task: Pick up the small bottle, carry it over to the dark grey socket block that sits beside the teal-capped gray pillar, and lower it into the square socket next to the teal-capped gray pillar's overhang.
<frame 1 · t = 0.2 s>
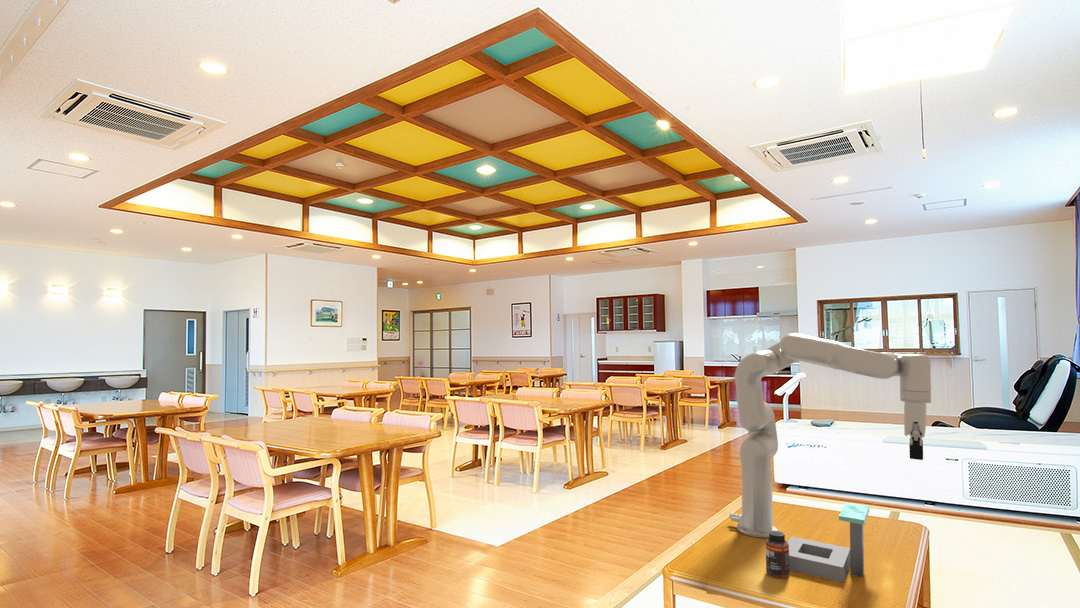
hand: (916, 455, 165), 31 cm above the table, tool pointing down, fingers open, 9 cm apart
supplement bottle: (777, 575, 157), on the table
socket block: (815, 564, 163), on the table
teal-capped gray pillar: (857, 574, 158), on the table
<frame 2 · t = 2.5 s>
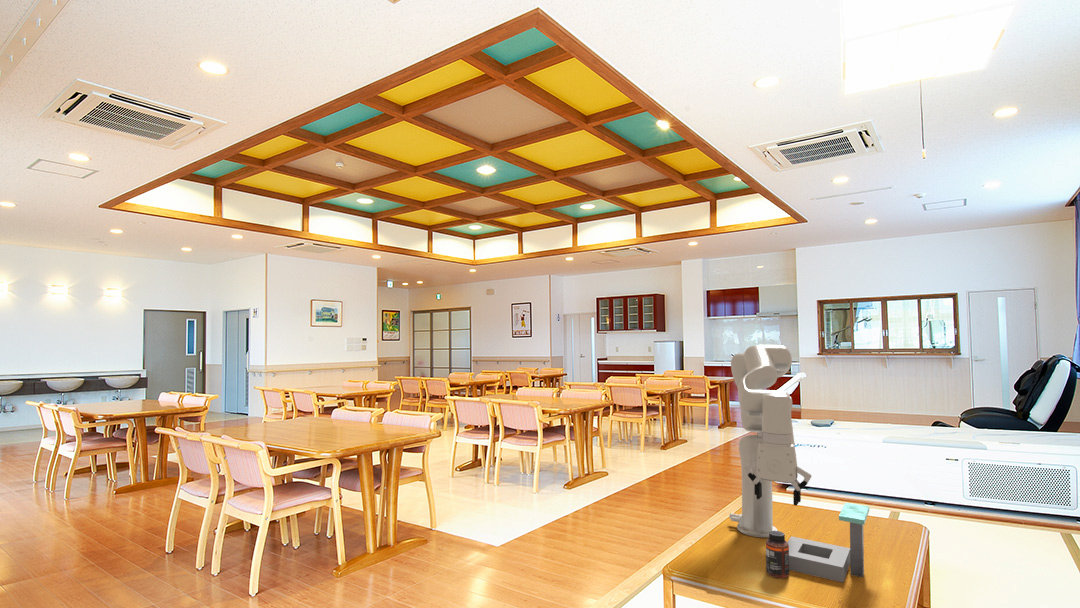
hand: (777, 501, 158), 20 cm above the table, tool pointing down, fingers open, 9 cm apart
nothing on the table moved.
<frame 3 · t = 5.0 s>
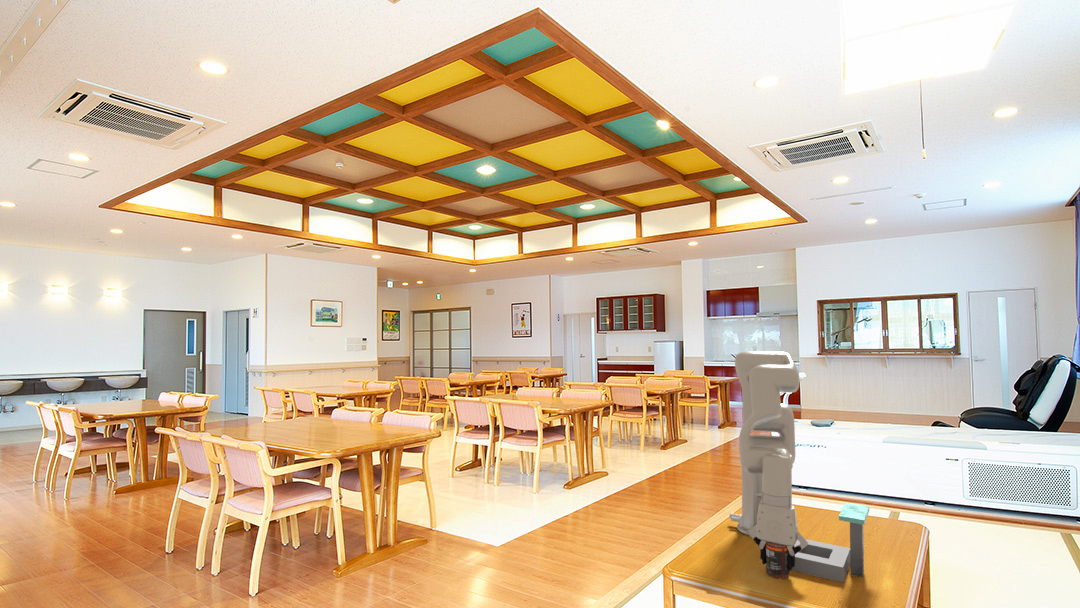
hand: (777, 565, 157), 3 cm above the table, tool pointing down, fingers closed on supplement bottle, 6 cm apart
supplement bottle: (777, 575, 157), on the table, touching gripper
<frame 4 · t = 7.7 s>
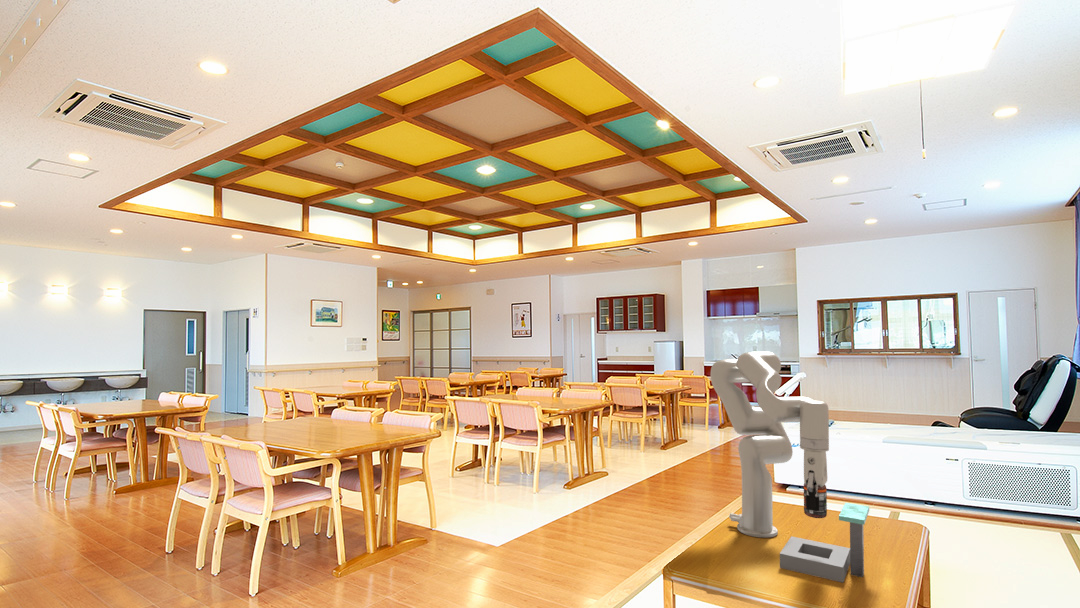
hand: (814, 506, 164), 17 cm above the table, tool pointing down, fingers closed on supplement bottle, 6 cm apart
supplement bottle: (815, 516, 164), point 14 cm above the table, touching gripper
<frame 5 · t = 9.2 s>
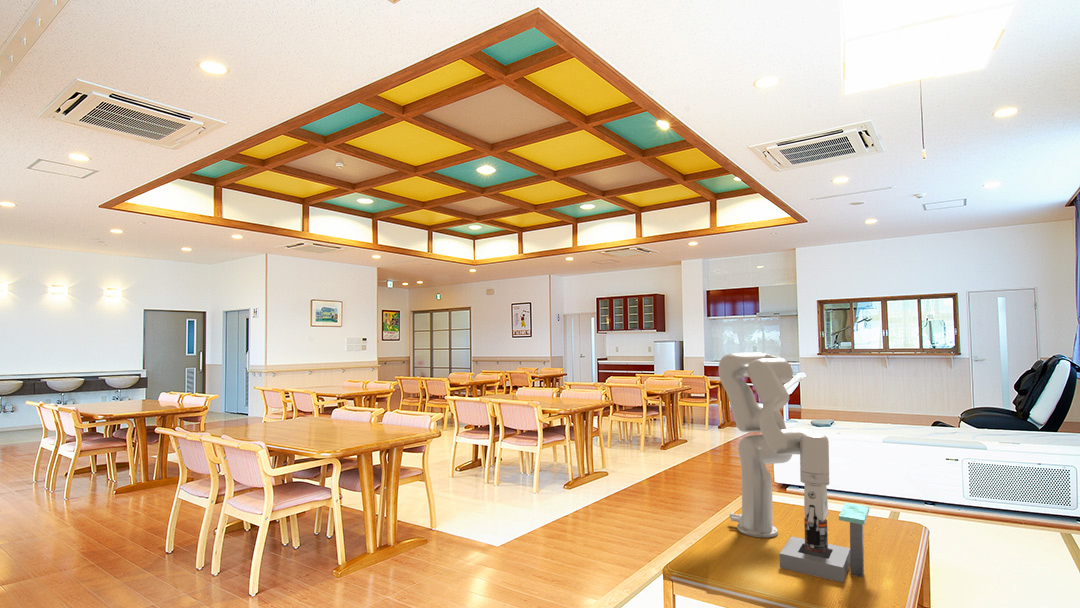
hand: (815, 540, 164), 7 cm above the table, tool pointing down, fingers closed on supplement bottle, 6 cm apart
supplement bottle: (816, 550, 163), point 4 cm above the table, touching gripper
when the fingers open (5 cm above the table, at t = 10.5 s): supplement bottle drops 2 cm, resting in socket block.
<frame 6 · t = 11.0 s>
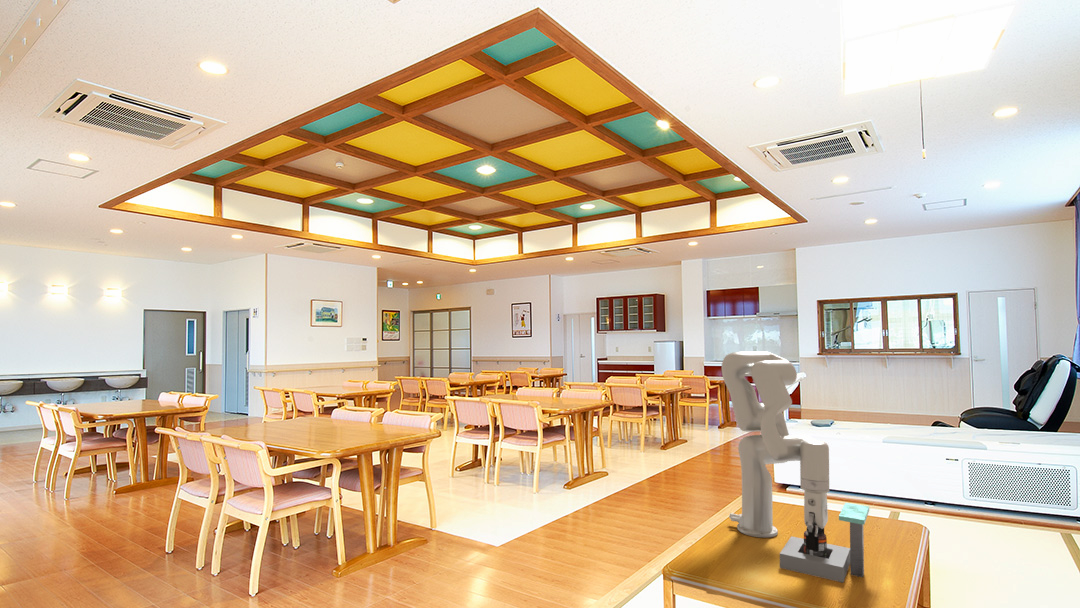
hand: (815, 544, 164), 6 cm above the table, tool pointing down, fingers open, 9 cm apart
supplement bottle: (815, 565, 164), resting in socket block
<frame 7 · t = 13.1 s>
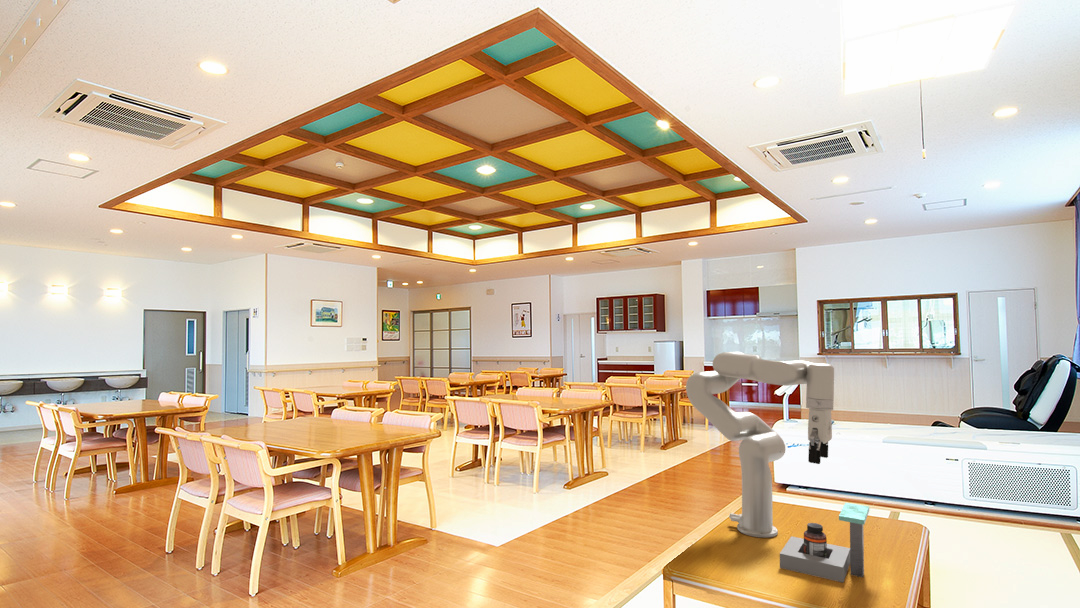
hand: (818, 459, 174), 28 cm above the table, tool pointing down, fingers open, 9 cm apart
nothing on the table moved.
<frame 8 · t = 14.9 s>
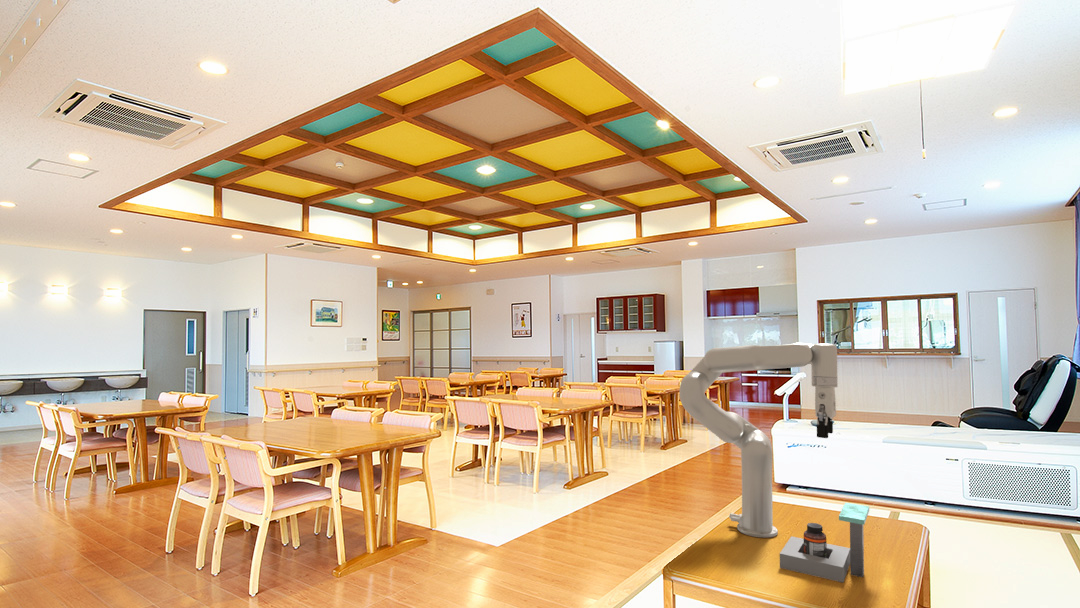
hand: (824, 435, 184), 33 cm above the table, tool pointing down, fingers open, 9 cm apart
nothing on the table moved.
at the end: supplement bottle 0.1 cm off-centre on the socket block, point 0.0 cm above the socket block's base; supplement bottle tilted 0°; the gripper is holding nothing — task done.
